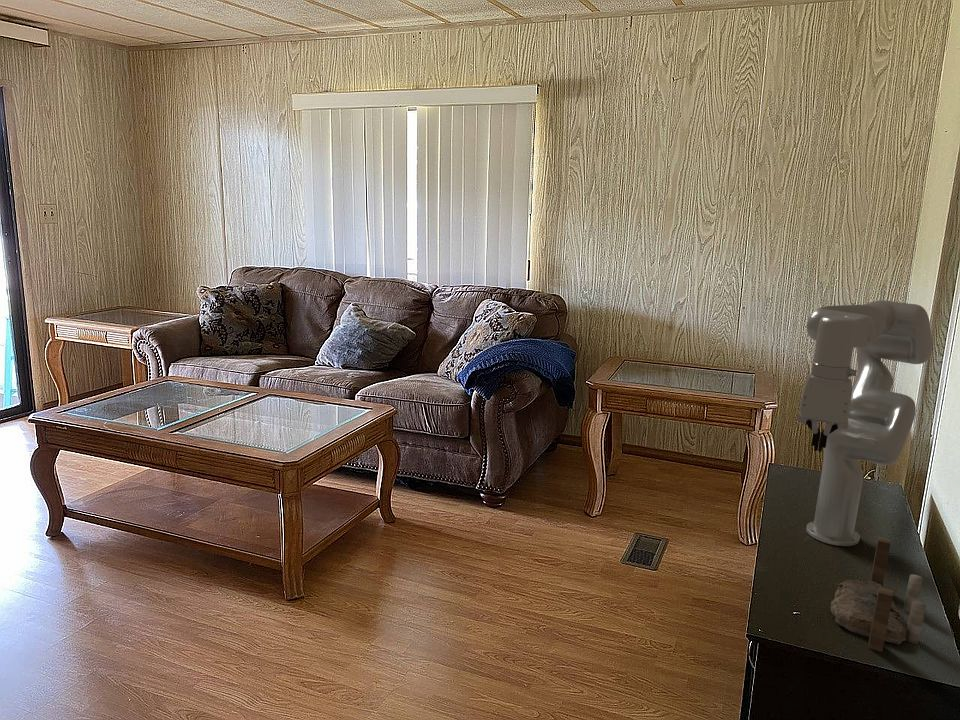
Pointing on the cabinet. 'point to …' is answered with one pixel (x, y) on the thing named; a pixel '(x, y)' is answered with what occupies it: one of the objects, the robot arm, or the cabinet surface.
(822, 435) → the robot arm
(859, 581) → the clay tablet
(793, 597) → the cabinet surface
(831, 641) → the cabinet surface
